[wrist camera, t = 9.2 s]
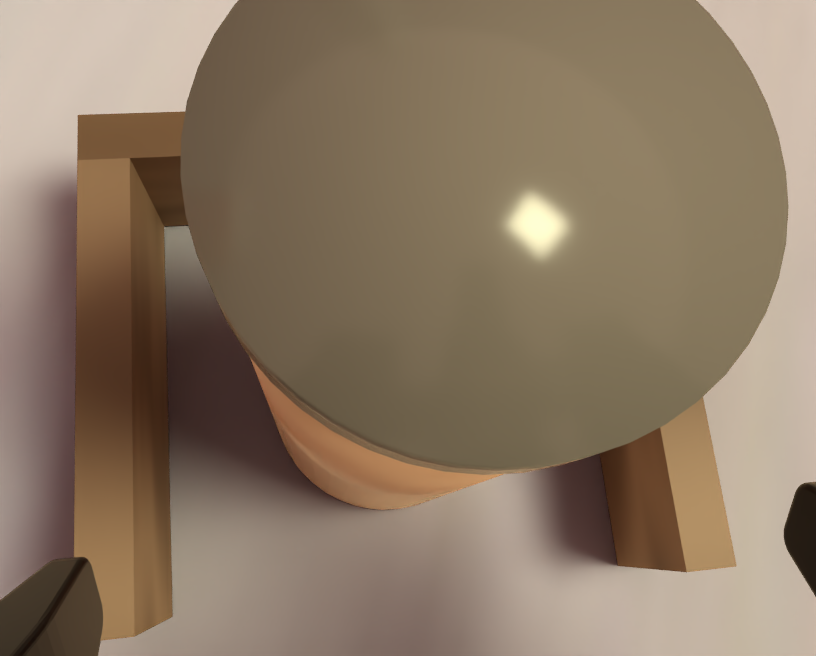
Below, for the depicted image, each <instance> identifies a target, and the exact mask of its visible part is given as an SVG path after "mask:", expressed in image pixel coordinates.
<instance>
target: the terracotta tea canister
mask: <svg viewBox="0 0 816 656" xmlns="http://www.w3.org/2000/svg"><path fill="white" fill-rule="evenodd" d="M180 177H181V184H182V192H183V199H184V207H185V214H186V218H187V222H188V225H189V229H190V232H191V236H192V239H193V243H194V246H195V250H196V253H197V256H198V258H199V261H200V263H201V265H202V268H203V270H204V272H205V275H206V277H207V279H208V281H209V284H210V286H211V288H212V291H213V293H214V295H215V297H216V299H217V302H218V304H219V306H220V308H221V311H222V313H223V315H224V317H225V320H226V321H227V323H228V324H229V326H230V328H231V329H232V331H233V332H234V334H235V336H236V337H237V339H238V340H239V342H240V344H241V345H242V347H243V348H244V350H245V352H246V353H247V354H248V355H249V357H250V358H251V361H252V364H253V366H254V369H255V371H256V374H257V377H258V379H259V382H260V384H261V387H262V389H263V392H264V395H265V397H266V400H267V402H268V405H269V408H270V410H271V413H272V415H273V418H274V421H275V423H276V426H277V428H278V431H279V433H280V436H281V438H282V441H283V443H284V445H285V447H286V450H287V452H288V453H289V455H290V456H291V458H292V460H293V461H294V463H295V464H296V466H297V467H298V468H299V469H300V470H301V472H302V473H303V474H304V475H305V476H306V477H307V478H308V479H309V480H310V481H311V482H312V483H314V484H315V485H316V486H317V487H319V488H320V489H322V490H323V491H324V492H326V493H327V494H329V495H331V496H333V497H335V498H337V499H339V500H341V501H343V502H346V503H349V504H352V505H355V506H359V507H364V508H368V509H380V510H389V509H401V508H406V507H411V506H415V505H418V504H421V503H424V502H427V501H430V500H432V499H435V498H438V497H441V496H444V495H447V494H449V493H452V492H455V491H458V490H461V489H463V488H466V487H469V486H472V485H475V484H478V483H480V482H483V481H486V480H489V479H492V478H494V477H497V476H500V475H503V474H511V473H525V472H530V471H535V470H540V469H545V468H551V467H556V466H561V465H564V464H567V463H571V462H574V461H577V460H580V459H584V458H587V457H590V456H593V455H596V454H599V453H602V452H605V451H608V450H611V449H613V448H616V447H619V446H622V445H625V444H628V443H631V442H633V441H634V440H636V439H638V438H640V437H642V436H644V435H646V434H648V433H650V432H652V431H654V430H656V429H658V428H660V427H662V426H664V425H665V424H667V423H668V422H670V421H671V420H673V419H674V418H675V417H677V416H678V415H680V414H681V413H682V412H684V411H685V410H687V409H688V408H689V407H691V406H692V405H694V404H695V403H696V402H698V401H699V400H700V399H701V398H702V397H703V396H704V395H705V394H706V393H707V392H708V391H709V390H710V389H711V388H712V387H713V386H714V385H715V384H716V383H717V382H718V381H719V380H720V379H721V378H723V377H724V376H725V375H726V373H727V372H728V371H729V369H730V368H731V367H732V365H733V364H734V363H735V362H736V360H737V359H738V358H739V356H740V355H741V354H742V352H743V351H744V350H745V348H746V347H747V346H748V344H749V343H750V341H751V339H752V337H753V335H754V333H755V332H756V330H757V328H758V326H759V324H760V322H761V321H762V319H763V317H764V315H765V313H766V311H767V308H768V306H769V303H770V300H771V298H772V295H773V292H774V289H775V287H776V284H777V281H778V278H779V274H780V269H781V264H782V260H783V255H784V250H785V245H786V235H787V220H788V196H787V182H786V171H785V166H784V161H783V156H782V151H781V146H780V142H779V137H778V134H777V131H776V128H775V125H774V122H773V119H772V117H771V114H770V111H769V108H768V105H767V102H766V100H765V98H764V96H763V94H762V92H761V90H760V88H759V86H758V84H757V82H756V80H755V78H754V76H753V74H752V72H751V70H750V68H749V67H748V65H747V64H746V62H745V61H744V59H743V58H742V56H741V54H740V53H739V51H738V50H737V48H736V47H735V45H734V43H733V42H732V41H731V39H730V38H729V37H728V36H727V34H726V33H725V32H724V31H723V30H722V28H721V27H720V26H719V25H718V23H717V22H716V21H715V20H714V19H713V17H712V16H711V15H710V14H709V13H708V12H707V11H706V10H705V9H704V8H703V7H702V6H701V5H700V4H699V3H698V2H697V1H696V0H239V1H238V2H237V3H236V4H235V5H234V7H233V8H232V9H231V11H230V12H229V14H228V15H227V17H226V18H225V20H224V21H223V22H222V24H221V25H220V27H219V28H218V30H217V31H216V33H215V34H214V36H213V38H212V40H211V42H210V44H209V46H208V48H207V50H206V52H205V54H204V56H203V58H202V60H201V62H200V64H199V66H198V69H197V72H196V76H195V79H194V82H193V85H192V88H191V91H190V94H189V97H188V100H187V105H186V111H185V118H184V124H183V130H182V136H181V176H180Z"/></svg>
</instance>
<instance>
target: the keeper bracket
mask: <svg viewBox="0 0 816 656" xmlns="http://www.w3.org/2000/svg"><path fill="white" fill-rule="evenodd" d="M184 118H185V112H160V113H128V114H96V115H78V158H77V270H76V383H75V496H74V557H85V558H87V559H88V560H89V561H90V563H91V565H92V569H93V572H94V576H95V580H96V584H97V587H98V591H99V595H100V599H101V602H102V607H103V629H102V635H101V640H109V639H117V638H126V637H134V636H136V635H138V634H140V633H142V632H144V631H146V630H148V629H150V628H152V627H154V626H156V625H157V624H159V623H161V622H163V621H165V620H167V619H169V618H171V617H172V571H171V525H170V479H169V433H168V387H167V341H166V295H165V250H164V226H177V225H188V222H187V218H186V214H185V207H184V199H183V192H182V184H181V177H180V176H181V136H182V130H183V124H184ZM600 459H601V465H602V471H603V477H604V483H605V489H606V496H607V502H608V508H609V514H610V520H611V526H612V533H613V539H614V545H615V551H616V557H617V563H618V566H625V567H637V568H648V569H659V570H670V571H681V572H692V571H700V570H709V569H717V568H726V567H734V566H736V561H735V556H734V551H733V546H732V541H731V536H730V531H729V526H728V521H727V516H726V511H725V506H724V501H723V496H722V491H721V486H720V481H719V476H718V471H717V466H716V461H715V456H714V451H713V446H712V441H711V436H710V431H709V426H708V421H707V416H706V411H705V406H704V401H703V397H702V398H701V399H700V400H699V401H698V402H696V403H695V404H694V405H692V406H691V407H689V408H688V409H687V410H685V411H684V412H682V413H681V414H680V415H678V416H677V417H675V418H674V419H673V420H671V421H670V422H668V423H667V424H665V425H664V426H662V427H660V428H658V429H656V430H654V431H652V432H650V433H648V434H646V435H644V436H642V437H640V438H638V439H636V440H634V441H633V442H631V443H628V444H625V445H622V446H619V447H616V448H613V449H611V450H608V451H605V452H602V453H600Z"/></svg>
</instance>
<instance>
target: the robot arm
mask: <svg viewBox="0 0 816 656" xmlns="http://www.w3.org/2000/svg"><path fill="white" fill-rule="evenodd" d="M784 541H785V545H786V547H787V550H788V552H789V554H790V555H791V557H792V559H793V560H794V562H795V564H796V565H797V567H798V568H799V570H800V572H801V573H802V575H803V577H804V578H805V580H806V582H807V583H808V585H809V586H810V588H811V590H812V591H813V593H814V595H815V596H816V482H809V483H804V484H802V485H800V486H799V487H798V489H797V490H796V492H795V495H794V499H793V502H792V505H791V508H790V511H789V514H788V517H787V521H786V524H785V527H784ZM102 629H103V607H102V602H101V599H100V595H99V591H98V587H97V584H96V580H95V576H94V572H93V569H92V565H91V563H90V561H89V560H88V559H87V558H85V557H74V558H64V559H56V560H53V561H51V562H49V563H47V564H46V565H45V566H43V567H42V568H41V569H40V570H38V571H37V572H36V573H35V574H33V575H32V576H31V577H29V578H28V579H27V580H26V581H24V582H23V583H22V584H20V585H19V586H18V587H17V588H15V589H14V590H13V591H12V592H10V593H9V594H8V595H6V596H5V597H4V598H3V599H1V600H0V656H98V652H99V647H100V641H101V635H102Z"/></svg>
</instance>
